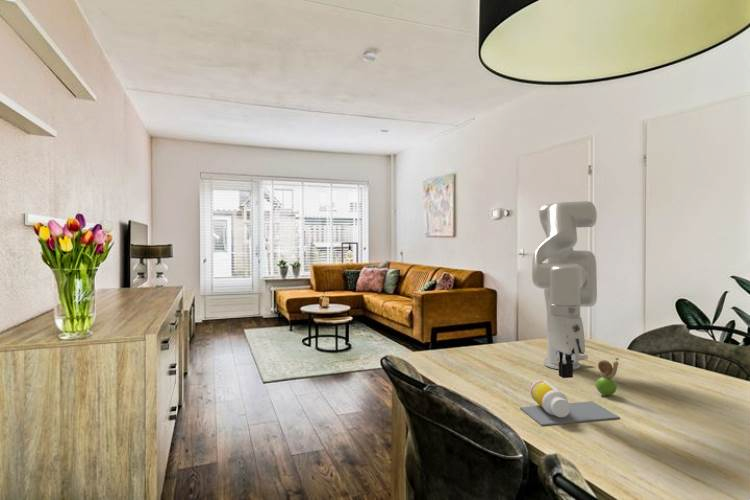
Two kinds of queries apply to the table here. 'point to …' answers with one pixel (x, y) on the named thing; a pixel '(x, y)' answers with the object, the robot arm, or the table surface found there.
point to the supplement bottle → (550, 398)
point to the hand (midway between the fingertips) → (565, 376)
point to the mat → (571, 414)
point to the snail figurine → (607, 377)
